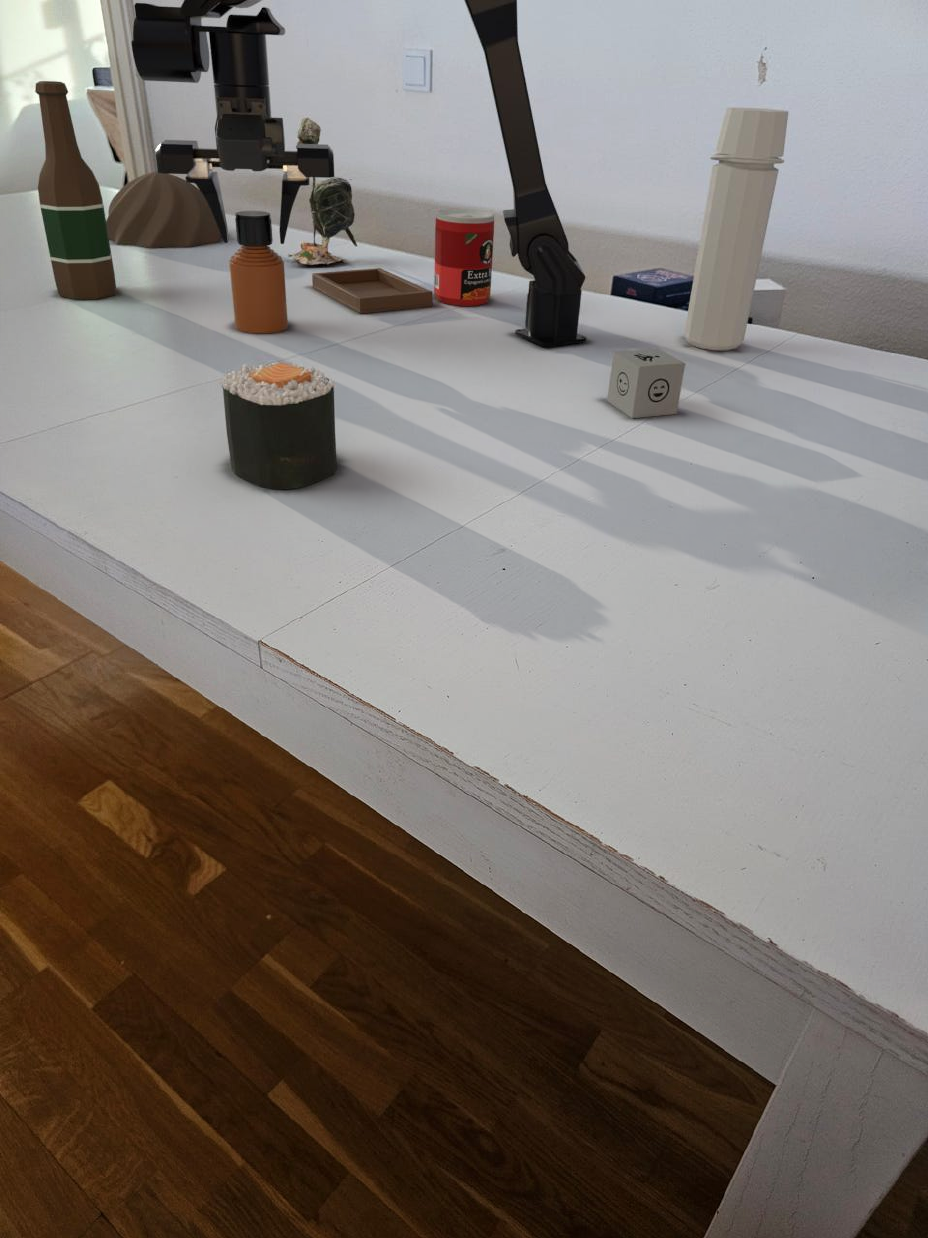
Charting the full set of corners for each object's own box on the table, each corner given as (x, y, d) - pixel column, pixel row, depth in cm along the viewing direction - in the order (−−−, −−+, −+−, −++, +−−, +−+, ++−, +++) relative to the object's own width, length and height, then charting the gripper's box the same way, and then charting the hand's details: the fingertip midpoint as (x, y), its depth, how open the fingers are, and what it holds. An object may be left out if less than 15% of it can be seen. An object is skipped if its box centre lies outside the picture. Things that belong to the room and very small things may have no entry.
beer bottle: (128, 288, 122) (96, 81, 109) (103, 301, 115) (66, 84, 102) (73, 284, 122) (34, 78, 109) (45, 298, 116) (0, 80, 103)
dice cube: (607, 401, 90) (613, 351, 88) (650, 397, 92) (658, 348, 89) (632, 418, 86) (639, 366, 84) (676, 413, 88) (685, 362, 85)
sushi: (287, 441, 78) (281, 348, 74) (355, 467, 74) (353, 371, 69) (211, 467, 73) (199, 369, 68) (280, 497, 68) (272, 395, 64)
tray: (432, 306, 120) (432, 291, 119) (360, 313, 115) (359, 298, 114) (380, 281, 131) (380, 267, 130) (312, 287, 126) (311, 273, 125)
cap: (230, 243, 103) (228, 212, 101) (254, 238, 106) (252, 209, 104) (255, 248, 101) (253, 217, 99) (279, 243, 104) (277, 213, 102)
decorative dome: (105, 227, 158) (95, 163, 153) (220, 226, 164) (214, 164, 158) (102, 248, 143) (91, 178, 138) (230, 246, 148) (224, 179, 143)
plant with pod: (365, 266, 139) (362, 119, 129) (291, 268, 136) (283, 117, 125) (354, 256, 146) (350, 115, 135) (283, 257, 143) (274, 113, 132)
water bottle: (748, 355, 106) (799, 113, 93) (680, 349, 107) (721, 108, 94) (741, 335, 114) (787, 108, 101) (678, 329, 115) (715, 104, 102)
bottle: (295, 330, 108) (289, 222, 101) (245, 335, 105) (235, 224, 98) (277, 317, 112) (269, 213, 106) (228, 322, 109) (217, 215, 103)
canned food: (468, 309, 119) (472, 219, 113) (422, 298, 123) (423, 211, 117) (501, 299, 125) (506, 213, 119) (456, 289, 129) (458, 206, 123)
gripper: (137, 84, 87) (160, 256, 95) (332, 92, 89) (337, 258, 98) (154, 80, 96) (174, 236, 105) (330, 87, 99) (335, 239, 107)
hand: (254, 242), depth 103 cm, fingers open, 6 cm apart
